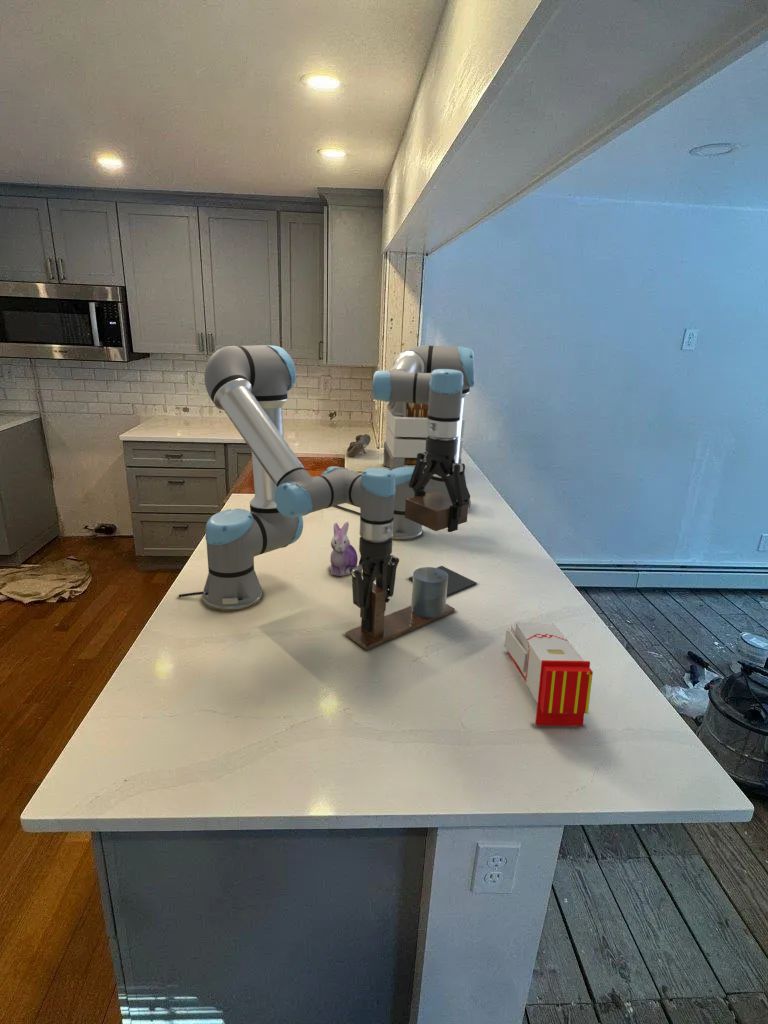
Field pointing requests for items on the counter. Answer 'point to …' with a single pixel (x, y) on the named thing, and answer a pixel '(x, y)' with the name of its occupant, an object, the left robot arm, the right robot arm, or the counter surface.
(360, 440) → the fossil
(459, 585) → the coaster
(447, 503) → the lid
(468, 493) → the figurine character
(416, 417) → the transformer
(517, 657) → the toy
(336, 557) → the figurine
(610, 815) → the counter surface
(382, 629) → the wooden base with post
